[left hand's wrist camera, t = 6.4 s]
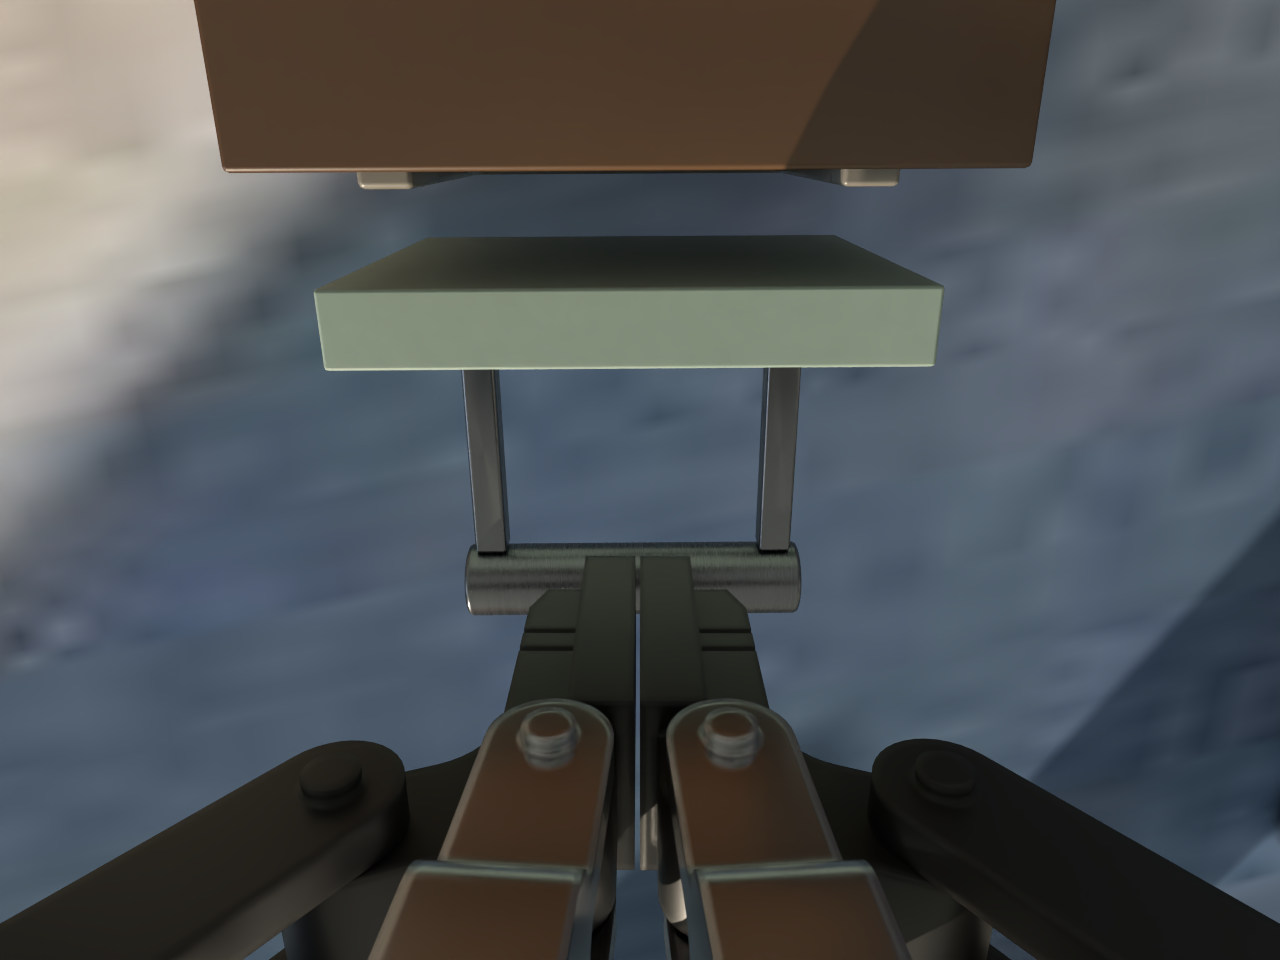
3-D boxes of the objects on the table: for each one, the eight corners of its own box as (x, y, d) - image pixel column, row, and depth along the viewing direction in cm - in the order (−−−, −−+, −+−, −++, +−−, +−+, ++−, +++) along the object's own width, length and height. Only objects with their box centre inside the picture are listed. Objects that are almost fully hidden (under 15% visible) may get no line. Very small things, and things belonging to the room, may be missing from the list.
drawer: (814, 520, 22) (896, 691, 15) (451, 523, 22) (368, 696, 15) (894, -552, 15) (1121, -1154, 8) (352, -550, 14) (107, -1154, 8)
